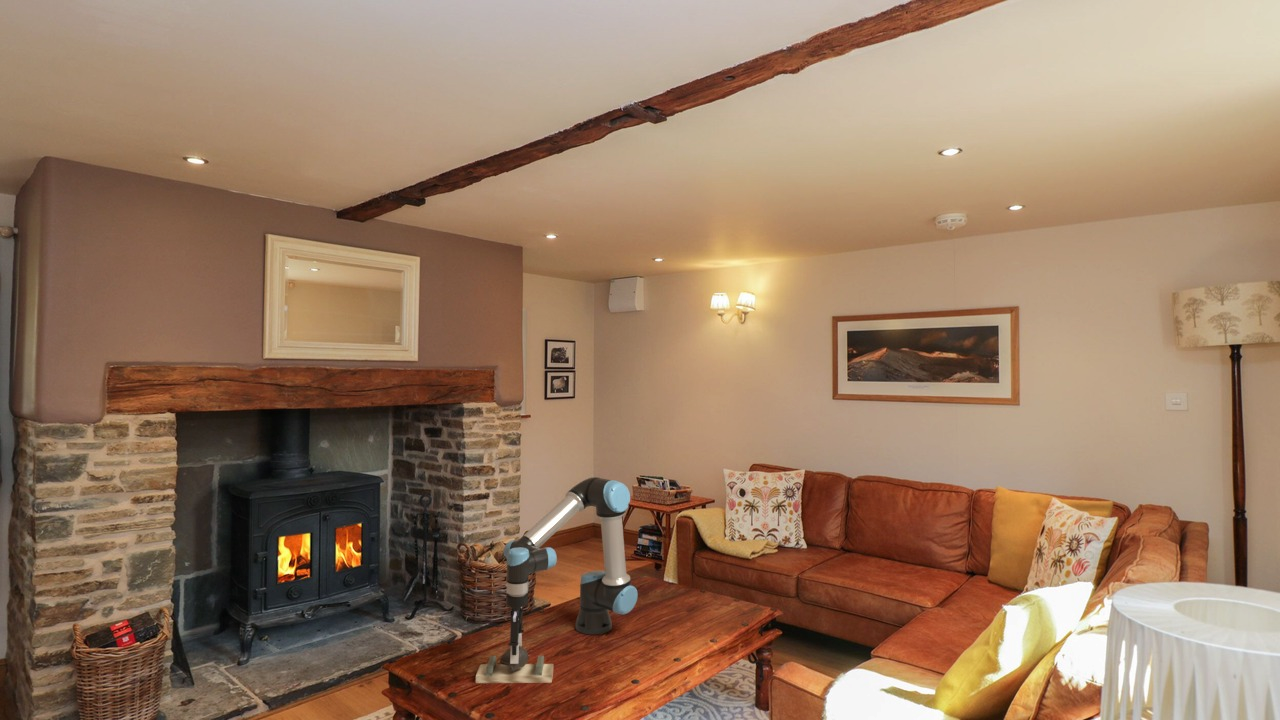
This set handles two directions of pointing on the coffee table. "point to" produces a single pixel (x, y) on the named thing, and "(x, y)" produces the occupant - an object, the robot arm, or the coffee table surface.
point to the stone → (521, 660)
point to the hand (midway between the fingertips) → (515, 657)
